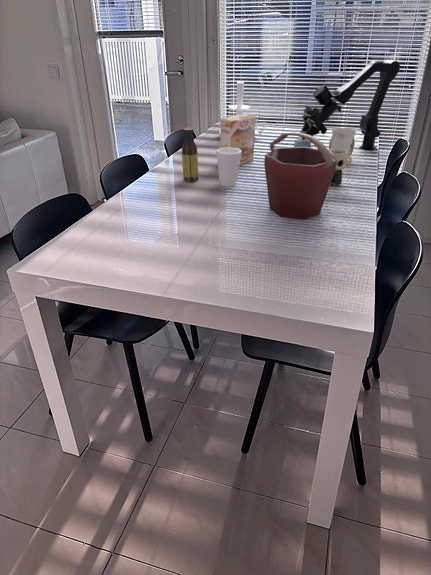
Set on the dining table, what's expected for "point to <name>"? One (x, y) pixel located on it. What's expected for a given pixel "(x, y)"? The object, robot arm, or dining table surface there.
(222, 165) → the foam cup
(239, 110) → the candlestick
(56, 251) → the dining table surface
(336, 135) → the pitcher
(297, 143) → the tiered round stand
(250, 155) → the coffeecake box
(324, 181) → the bucket
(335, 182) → the character mug
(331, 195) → the dining table surface
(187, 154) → the sauce bottle
